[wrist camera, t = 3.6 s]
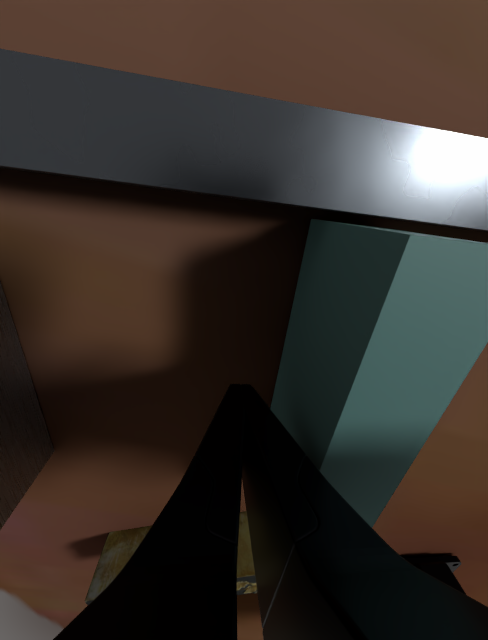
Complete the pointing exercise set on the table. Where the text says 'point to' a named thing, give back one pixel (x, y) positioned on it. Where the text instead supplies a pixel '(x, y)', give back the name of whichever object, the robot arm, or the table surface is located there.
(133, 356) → the table surface
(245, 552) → the decorative block
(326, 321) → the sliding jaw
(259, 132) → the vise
